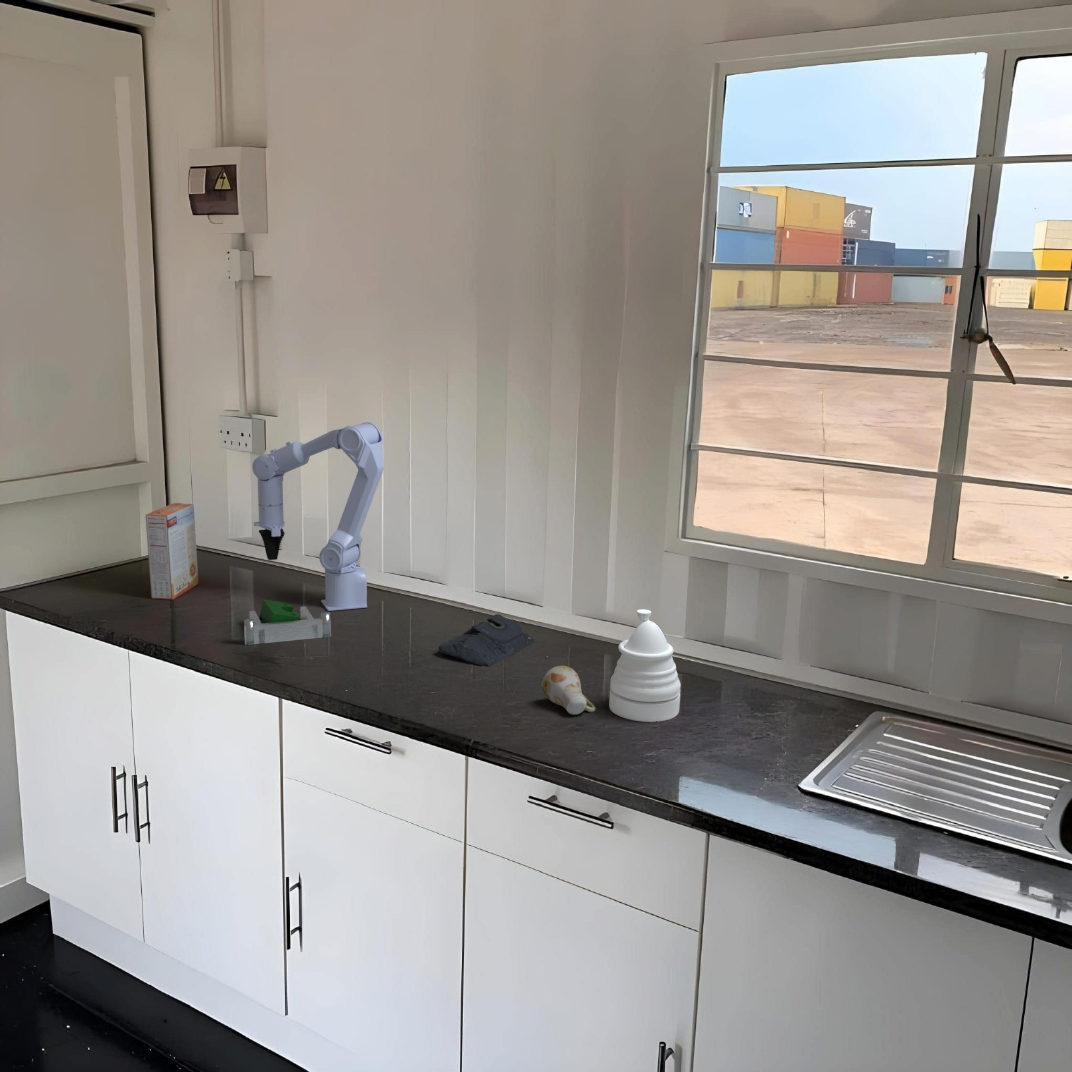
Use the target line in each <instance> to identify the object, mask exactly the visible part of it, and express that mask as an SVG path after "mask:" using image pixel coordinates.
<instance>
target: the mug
mask: <svg viewBox="0 0 1072 1072" xmlns="http://www.w3.org/2000/svg"><path fill="white" fill-rule="evenodd" d="M581 685H582V684H581V680H580V676H579V675H578V673H577V672H576V671H575V670H574V669H573V668H572V667H570V666H567V665H557V666H554V667H552V668H551V669H549V670H548V671H547V672H546V673H545V674H544V676H543V678H542V681H541V685H540V687H541V689H542V691H543V694H544V696H545V697H546V698H547V699H548V700H549V701H550V702H552V703H553V704H556V705H558V706H561V707H563V708H564V709H565V710H566V712H567V713H568V714H570V715H571V716H575V715H579V714H581V713H583V712H584V710H585V711H587V712H589V713H593V712H595V711H596V707H595V705H594V704H593V703H592V702H591V701H589V699H588V698H587V696H585V695H584V694H583V692H582V686H581Z"/></svg>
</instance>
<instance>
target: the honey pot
mask: <svg viewBox="0 0 1072 1072" xmlns="http://www.w3.org/2000/svg"><path fill="white" fill-rule="evenodd" d="M636 614H637V618H638V619H639V621H640V622H641V623H640V624H639V625H638V626H637V627H636V628H635V629H634V631H633V632H632V633H631V635H630V637H629V639H625V640H623V641H621V642H620V643H619V645H618V651H619V652H620V653H621V655H620V657H619V659H618V660H617V662H616V666H615V668H614V671H613V674H612V675H611V678H610V679H609V681H610V684H609V685H610V686H609V701H608V702H609V703H608V704H609V705H608V707H609V710H610V711H611V712H612V713H614V714H615V715H617V716H619V717H621V718H624V719H627V720H630V721H634V722H635V721H637V722H643V723H646V722H649V723H654V722H655V723H656V721H657V722H663V721H667V720H668V721H669V720H671V719H673V718H675V717H676V716H677V715H679V712H680V704H681V703H680V701H681V686H682V685H681V681H680V678H679V674H678V672H677V665H676V663H675V661H674V659H673V654H674V652H675V650H674V647H673V646H672V645H671V644H670V643H668V641H667V638H666V637H665V635H664V633H663V631H662V630H661V628H660V627H659V625H657V624H656V623H655V622H654V621H651V620H650V618H651V616H652V611H651V610H649V609H644V608H643V609H637V610H636Z"/></svg>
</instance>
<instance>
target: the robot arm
mask: <svg viewBox="0 0 1072 1072" xmlns="http://www.w3.org/2000/svg"><path fill="white" fill-rule="evenodd" d="M384 440H385V438H384V436H383V434H382V433H381V431H380V428H379V427H378V426H377V425H376V424H374V423H372V422H368V421H367V422H366V421H365V422H362V423H360V424H356V425H355V424H354V425H347V426H345V427H342V428H337V429H333V430H330V431H328V432H326V433H324V434H321V435H320V436H318V437H315V438H313V439H311V440H309V441H308V442H306V443H302V442H301V441H297V440H296V441H294V440H289V441H287V442H285V446H283V447H280V448H278V449H277V448H273V449H271V450H270V452H269V453H268V454H260V455H258V457H255V459H254V460H253V461H252V466H251V467H252V472H253V474H254V475H255V476H256V478H257V498H258V499H257V500H258V501H257V502H258V521H254V522H253V526H254V527H259V528H262V529H258V533H259V535H260V536H261V539H262V542H263V546H264V550H265V556H266V558H267V560H268V561H274V560H278V557H279V551H280V547H281V543H282V541H283V538H284V536H285V531H284V529H283V527H285V521H284V489H283V488H284V487H283V483H284V476H285V474H286V473H289V472H291V471H293V470H295V469H297V468H300V467H303V466H304V465H306V464H308V463H309V461H310V458H311V457H312V456H314V455H316V454H320V453H322V452H325V451H327V450H329V449H333V448H334V449H335V450H342V451H343V453H344V454H345V455H346V456H347V457H348V458H349V459H350V460H351V461H352V462H353V463H354V464H355V466H356V469H357V472H356V476H355V479H354V482H353V484H352V487H351V490H350V491H349V494H348V495H349V496H348V497H347V500H346V503H345V506H344V509H343V512H342V515H341V518H340V519H339V520H340V521H339V523H338V526H337V529H336V530H335V532H334V533H333V534H332V535H331V536H330V537H329V539H328V541H327V544H326V545H325V546H324V547H323V548H321V550H320V552H319V562H320V565H321V566H322V568H324V575H325V576H324V579H325V581H324V583H325V585H324V586H325V588H324V589H325V599H322V600H321V603H322V605H323V606H324V608H325V609H326V610H327V612H329V611H330V612H331V611H343V610H352V609H353V610H355V609H356V610H357V609H363V608H364V609H365V608H366V609H367V608H368V601H367V600H368V599H367V598H368V592H367V591H368V590H367V589H368V588H367V587H368V586H367V585H368V584H367V583H368V582H367V574H366V570H365V568H363V567H357V562H358V561H359V560H360V558H361V554H362V548H361V545H362V541H363V538H362V537H361V533H362V529H363V526H364V525H365V522H366V518H367V515H368V513H369V510H370V507H371V506H372V505H371V504H372V501H373V500H374V497H375V494H376V492H377V491H376V490H377V488H378V485H379V483H380V481H381V477H382V475H383V473H384V469H385V463H384V451H383V443H384Z"/></svg>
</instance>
